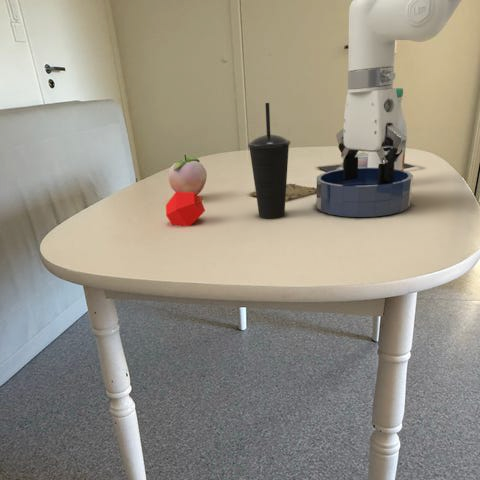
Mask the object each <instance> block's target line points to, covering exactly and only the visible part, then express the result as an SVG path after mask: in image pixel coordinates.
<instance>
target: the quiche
mask: <svg viewBox="0 0 480 480" xmlns="http://www.w3.org/2000/svg"><path fill="white" fill-rule="evenodd" d="M355 157H358V168H367V167H368V153H366V152H358V153H357V154H356V156H355ZM415 167H416V166H415V165H412V164H408V163H405V162H404V170H407V169H411V168H415ZM317 168H318V169H320V170H322V171H325V172H329V171H335V170H341V169H343V162H342V163H341V164H335V165H334V164H333V165H324V166H317Z"/></svg>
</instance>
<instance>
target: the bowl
mask: <svg viewBox="0 0 480 480" xmlns="http://www.w3.org/2000/svg"><path fill="white" fill-rule="evenodd" d="M413 182H414V175H413V174H412V172H410V171H407V170H405V169H404V170H398V169H394V178H393V183H389V184H381V185H378V168H369V167H367V168H358V177H357V178H355V179H351V180H343V169H341V170H335V171H329V172H327V171H325V172H323V173H320V174H319V175H317V176H316V188H317V194H316V209H317V210H319V211H320V212H321V213H325V214H328V215H334V216H339V217H349V218H351V217H352V218H374V217H375V218H376V217H383V216H389V215H394V214H398V213H402V212H403V211H405V210H407V209H409V207H410V205H411V200H412V191H413Z"/></svg>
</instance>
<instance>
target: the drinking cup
mask: <svg viewBox="0 0 480 480" xmlns="http://www.w3.org/2000/svg"><path fill="white" fill-rule="evenodd" d="M264 104H265V105H264V107H265V128H266V129H265V130H266V134H263V135H261V136H258V137H255V138H254V139H253V140H252V141H250V142H248V143H247V148H248V149H249V153H250V155H249V156H250V161H251V168H252V175H253V182H254V188H255V192H256V196H255V198H256V203H257V212H258V217H259V218H260V219H263V220H277V219H280V218H281V219H282V218H283V217H284V216H285V214H286V213H285V212H286V202H285V198H286V185H287V180H288V167H289V166H288V165H289V164H288V163H289V150H290V149H289V148H290V145H291V140H290V139H287V138H285V137H283V136H281V135H277V134H271V114H270V113H271V112H270V111H271V110H270V102H265V103H264Z"/></svg>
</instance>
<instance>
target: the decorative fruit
mask: <svg viewBox="0 0 480 480" xmlns="http://www.w3.org/2000/svg"><path fill="white" fill-rule="evenodd" d="M207 177H208V174H207V169H206V168H205V166H204V165H203V164H202V163H201V161H200V160H199V159H198V158H197V157H188V158H187V155H186V154H184V159H183V160H179V161H177V162H174V163H173V164H172V165H171V167H170V168H169V170H168V173H167V179H168V184H169V185H170V187H171V189H172V190H173V192H175V193H176V192H188V193H195V194H196V195H198V196H199V194H201V192H202V191H203V189H204V187H205V184H206V182H207Z"/></svg>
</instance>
